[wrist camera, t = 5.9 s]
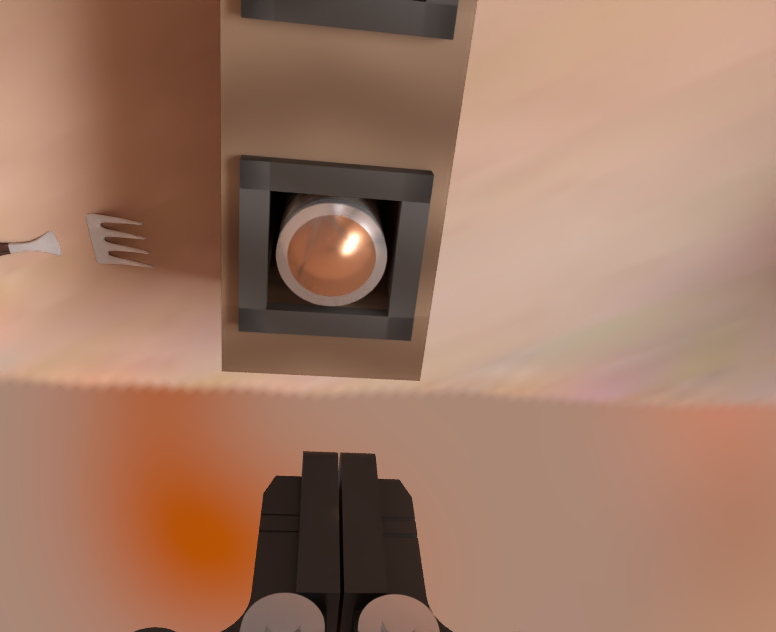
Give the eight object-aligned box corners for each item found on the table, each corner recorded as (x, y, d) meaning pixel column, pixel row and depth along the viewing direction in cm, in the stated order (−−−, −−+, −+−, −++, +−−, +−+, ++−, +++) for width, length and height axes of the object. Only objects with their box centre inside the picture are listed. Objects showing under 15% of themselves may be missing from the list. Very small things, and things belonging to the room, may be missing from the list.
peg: (288, 144, 31) (277, 199, 24) (379, 151, 31) (392, 208, 25) (285, 229, 33) (274, 302, 26) (370, 235, 33) (381, 309, 26)
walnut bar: (249, -276, 25) (215, -372, 17) (470, -242, 26) (530, -319, 18) (243, 284, 35) (219, 379, 27) (401, 294, 36) (421, 388, 28)
